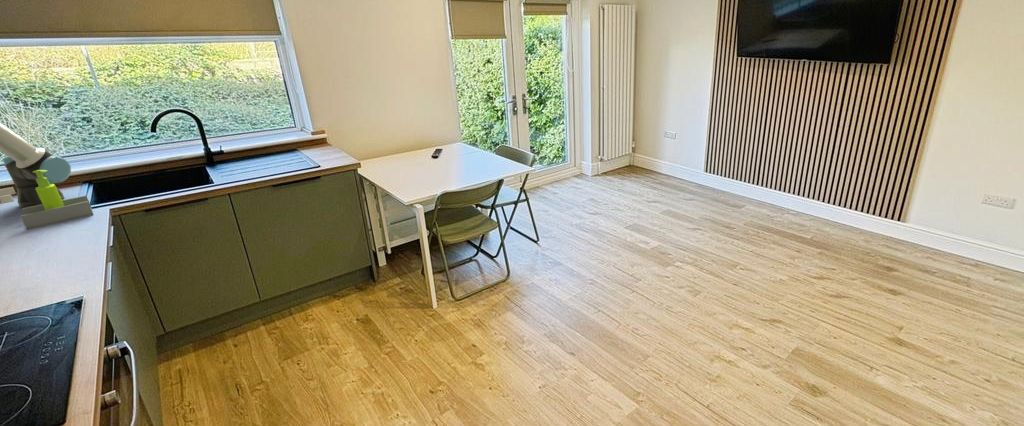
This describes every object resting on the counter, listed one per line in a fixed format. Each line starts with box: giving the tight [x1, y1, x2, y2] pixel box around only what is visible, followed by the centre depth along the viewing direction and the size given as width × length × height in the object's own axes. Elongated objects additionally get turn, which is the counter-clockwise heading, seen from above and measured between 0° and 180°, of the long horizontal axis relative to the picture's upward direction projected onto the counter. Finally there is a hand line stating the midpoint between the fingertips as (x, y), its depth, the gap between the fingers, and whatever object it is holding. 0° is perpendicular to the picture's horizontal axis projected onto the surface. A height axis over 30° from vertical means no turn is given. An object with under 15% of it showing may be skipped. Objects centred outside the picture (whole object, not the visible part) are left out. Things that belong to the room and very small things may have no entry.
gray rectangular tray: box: [20, 195, 94, 231], centre depth 188 cm, size 12×20×6 cm, turn 134°
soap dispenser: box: [33, 170, 64, 210], centre depth 184 cm, size 6×7×20 cm
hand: (13, 194), depth 178 cm, fingers open, 13 cm apart
